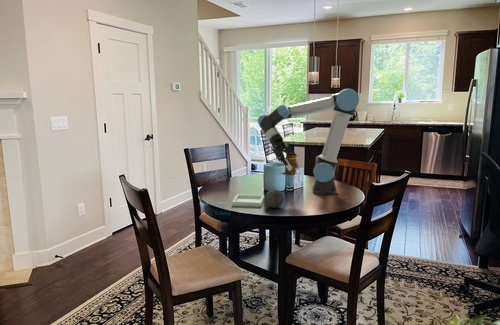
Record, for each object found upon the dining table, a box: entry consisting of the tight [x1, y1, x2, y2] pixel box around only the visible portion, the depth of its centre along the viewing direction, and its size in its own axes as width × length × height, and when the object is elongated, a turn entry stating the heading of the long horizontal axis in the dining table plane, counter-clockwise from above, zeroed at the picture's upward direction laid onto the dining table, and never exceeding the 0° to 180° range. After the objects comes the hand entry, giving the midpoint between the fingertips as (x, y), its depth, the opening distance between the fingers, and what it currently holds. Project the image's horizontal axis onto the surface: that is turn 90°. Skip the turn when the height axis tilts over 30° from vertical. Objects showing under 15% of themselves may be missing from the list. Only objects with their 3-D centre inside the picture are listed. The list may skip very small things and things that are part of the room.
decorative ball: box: [264, 188, 285, 209], centre depth 190 cm, size 10×10×10 cm
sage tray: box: [231, 193, 265, 208], centre depth 200 cm, size 16×16×2 cm
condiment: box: [279, 152, 298, 176], centre depth 198 cm, size 7×8×12 cm
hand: (294, 168), depth 196 cm, fingers closed on condiment, 6 cm apart
